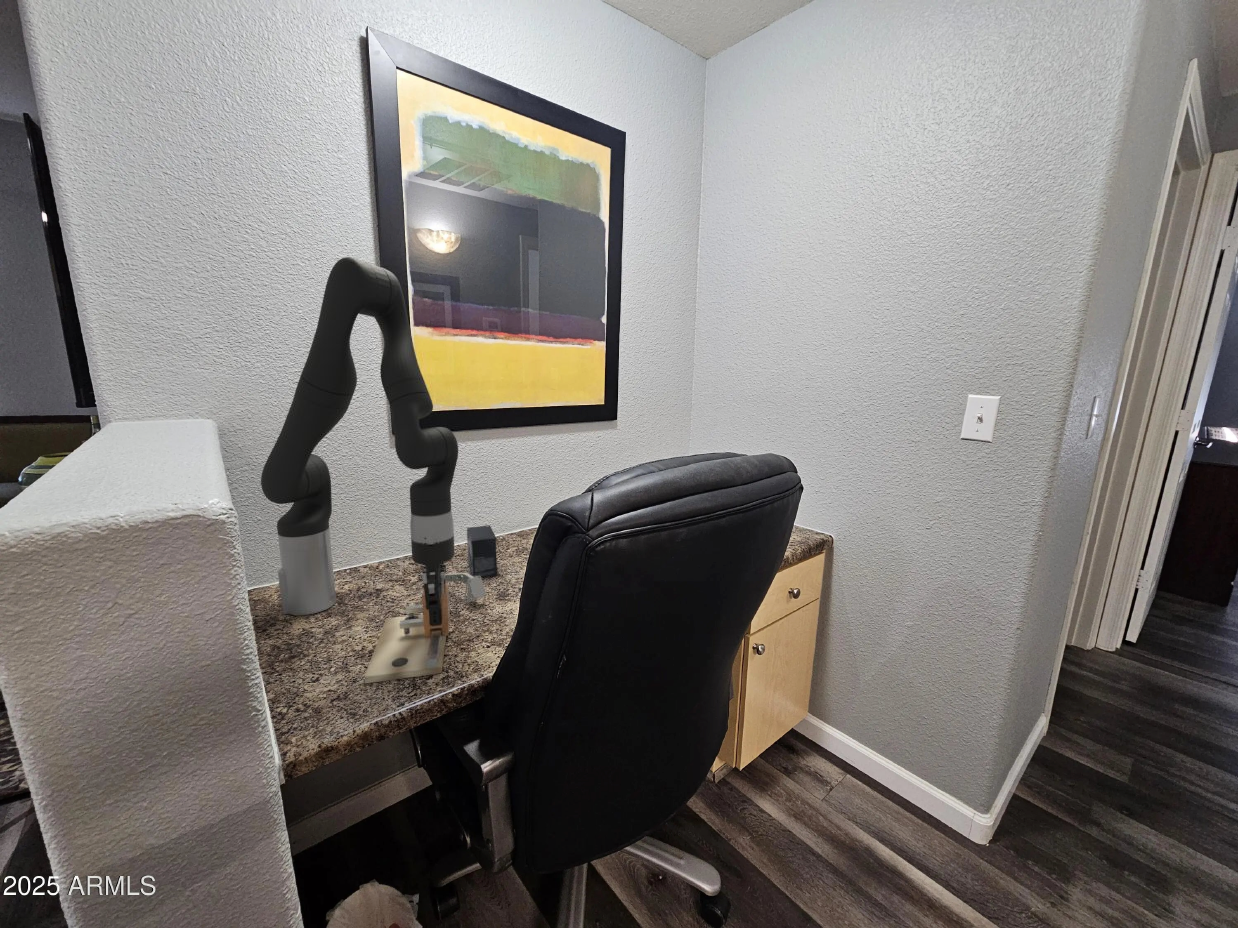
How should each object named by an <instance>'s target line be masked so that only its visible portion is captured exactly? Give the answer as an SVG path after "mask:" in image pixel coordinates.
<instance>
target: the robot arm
mask: <svg viewBox="0 0 1238 928" xmlns="http://www.w3.org/2000/svg"><path fill="white" fill-rule="evenodd" d="M406 306H407V305H406V302H405V297H404V293H403V289H402V287H401V283H400V282H399V279H398V278H397V277H396V275H395V274H394V273H393V272H391V271H390V270H388V269H386V268H384V267H381V266H379V265H375V264H372V263H369V262H367V261H364V260H361V259H358V258H355V257H350V256H345V257H342V258H340V259H338V260H337V261H336V263H335V264H334V265H333V266H332V268H331V270H330V272H329V275H328V278H327V281H326V285H325V288H324V293H323V297H322V302H321V307H320V311H319V317H318V321H317V326H316V330H315V333H314V337H313V339H312V343H311V345H310V349H309V351H308V356H307V358H306V361H305V364H304V366H303V369H302V371H301V373H300V377H299V380H298V382H297V385H296V388H295V390H294V391H295V392H294V395H293V399H292V402H291V404H290V407H289V410H288V413H287V415H286V418H285V420H284V423H283V426H282V428H281V431H280V433H279V435H278V437H277V439H276V441H275V443H274V445H273V448H272V450H271V452H270V453H269V455H268V458H267V460H266V461H265V464H264V466H263V468H262V472H261V476H260V486H261V489H262V493H263V495H264V496H265V498H266V499H268V501H270V502H272V503H274V504H279V505H286V504H287V505H288V504H291V503H292V505H291V507H290V508H289V510H288V511H287V512H285V514H283V515H282V516H281V517H280V518H279V519H278V521H277V523H276V531H277V537H278V538H277V539H278V540H277V541H278V548H279V556H280V564H281V565H280V566H281V568H280V569H279V570H278V571H277V577H278V585H279V594H280V600H281V601H280V602H281V609H282V615H283V614H284V615H285V614H287V615H291V616H292V615H294V616H306V615H307V616H308V615H313V614H316V613H320V612H322V611H323V612H324V611H325V610H328V609H329V608H331V607H332V606H334V605H335V604H336V603H337V596H336V594H337V593H336V587H335V586H336V585H335V574H334V566H333V565H334V563H333V561H334V560H333V554H332V553H333V552H332V551H333V550H332V543H331V531H330V530H331V529H330V518H331V516H332V513H333V511H332V510H333V506H332V503H333V502H332V480H331V479H332V477H331V473H330V469H329V467H328V465H327V463H326V462H325V460H324V459H323V458H322V457H320V456H318V455H317V454H314V453H313V451H314V450H315V448H316V447H317V446H318V444H319V443H320V442H321V441H322V440H323V439H324V438H325V437H326V436H327V435H328V434H329V433H330V432H331V431H332V429H334V428H335V426H336V425H338V423H340V421H341V420H342V418H343V417H344V416H345V414H346V413H347V411H348V409H349V406H350V405H351V401H352V399H353V397H354V394H355V391H356V388H357V384H358V373H357V368H356V365H355V362H354V359H353V354H352V351H351V343H350V342H351V336H352V332H353V329H354V325H355V321H356V320H357V317H358V315H364V316H366V317H372V318H374V319H375V321H376V323H377V325H378V327H379V328H380V331H381V333H382V338H383V351H382V356H381V363H380V368H379V369H380V381H381V384H382V387H383V391H384V394H385V396H386V399H387V402H388V404H389V406H390V407H389V408H390V409H391V412H392V421H393V430H394V431H393V432H394V448H395V449H394V450H395V452H396V456H397V458H398V460H399V461H400V463H401V464H402V465H404V466H405V468H407V469H410V470H423V469H427V471H426V473H425V475H423V476H422V477H421V478H419V479H417V480H416V481H413V482H412V484H410V486H409V487H410V488H409V501H410V503H409V505H410V522H409V523H410V525H409V527H410V530H409V531H410V544H411V545H410V547H411V558H412V561H413V563H415V564H418V565H423V571H422V572H421V573H422V579H423V580H422V579H421V580H422V581H423V587H422V588H423V589H424V595H425V601H426V610H429V624H430V626H439V625H441V624H442V596H441V595H442V594H443V593H444V585H445V584H447V583H446V582H447V581H446V577H445V574H447V564H446V563H447V562H449V561H451V560H452V559H453V558H454V556H455V552H456V551H455V532H454V529H455V528H454V518H453V514H452V495H451V489H452V488H451V487H452V483H453V480H454V475H455V470H456V467H457V463H458V458H459V444H458V443H459V442H458V441H457V437H456V436H455V434H454V433H453V431H451V430H450V429H449V428H447V427H443V426H436V427H435V426H434V427H428V428H421V427H420V420H421V419H424V418H426V417H427V416H429V415H431V413H432V412H433V410H434V405H433V404H434V403H433V400H432V398H431V395H430V392H429V389H428V387H427V384H426V382H425V379H424V377H423V375H422V372H421V368H420V366H419V363H418V359H417V356H416V355H417V354H416V351H415V348H414V343H413V336H412V331H411V327H410V321H409V317H408V312H407V307H406ZM440 586H441V589H439V588H440ZM433 600H436V601H433Z"/></svg>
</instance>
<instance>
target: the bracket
mask: <svg viewBox="0 0 1238 928" xmlns="http://www.w3.org/2000/svg"><path fill="white" fill-rule="evenodd" d="M419 575H420V578H421V581H423V579H422V572H421V573H419ZM445 577H446V582H461V583H464V584H465V585H466V586H465V589H464V590H465V592H464V597H463V598H464V601H465V603H468V604H469V603H472V602H473V601H477V600H479V599H482V598H485V597H487V591H486V588H485V585H484V582H483V578H481V576H472V574H470V573H467V572H459V573H457V572H456V573H446V574H445ZM479 577H480V578H479Z"/></svg>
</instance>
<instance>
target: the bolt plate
mask: <svg viewBox="0 0 1238 928" xmlns="http://www.w3.org/2000/svg"><path fill="white" fill-rule="evenodd" d="M419 618H423V613H422V614H414V619H419ZM401 620H409V615H406V616H396V617H395V616H394V617H387V618H385V621H384V623H383V626H382V629H381V632H380V634H379V636H378V637H379V638H378V639H377V643H376V645H375V647H374V651H373V654H372V656H371V659H370V660H369V664H368V666H367V668H366V672H365V674H364V677H363V678H364V684H370V683H377V682H385V681H394V680H399V679H408V678H414V677H415V678H416V677H423V676H429V675H437V674H442V673H443V663H444V656H445V649H446V641H447V635H443V628H442V635H441V642H440V649H439V656H438V663H437V667H435V668H428V669H427V661H426V660H427V654H428V649H429V644H430V638H431V637H425V630H424V626H422V627H413V628H410V633H409V634H407V635H406V634H404V629H400V621H401ZM431 633H432V632H431Z"/></svg>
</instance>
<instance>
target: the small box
mask: <svg viewBox="0 0 1238 928" xmlns="http://www.w3.org/2000/svg"><path fill="white" fill-rule="evenodd" d="M466 535H467V537H466V540H467V542H466V543H467V558H468V566H469V569H470V572H471V576H481V579H483V578H489V577H490V578H491V577H495V576H498V575H499V574H498V573H499V572H498V559H497V536H496V535H495V533H494V530H493V529H492V526H491V525H489V524H487V525H480V526H479V525H478V526H472V527H467V528H466ZM479 578H480V577H479Z"/></svg>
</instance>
